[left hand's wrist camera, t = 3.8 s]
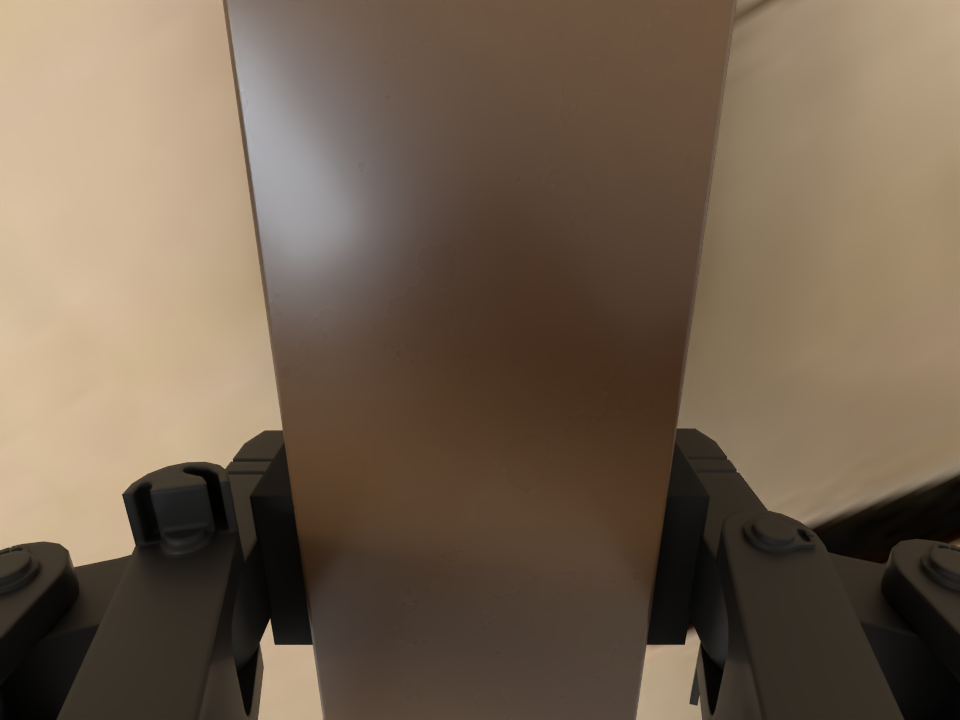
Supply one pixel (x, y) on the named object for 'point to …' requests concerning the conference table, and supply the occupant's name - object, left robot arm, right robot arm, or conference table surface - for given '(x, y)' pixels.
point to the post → (479, 330)
